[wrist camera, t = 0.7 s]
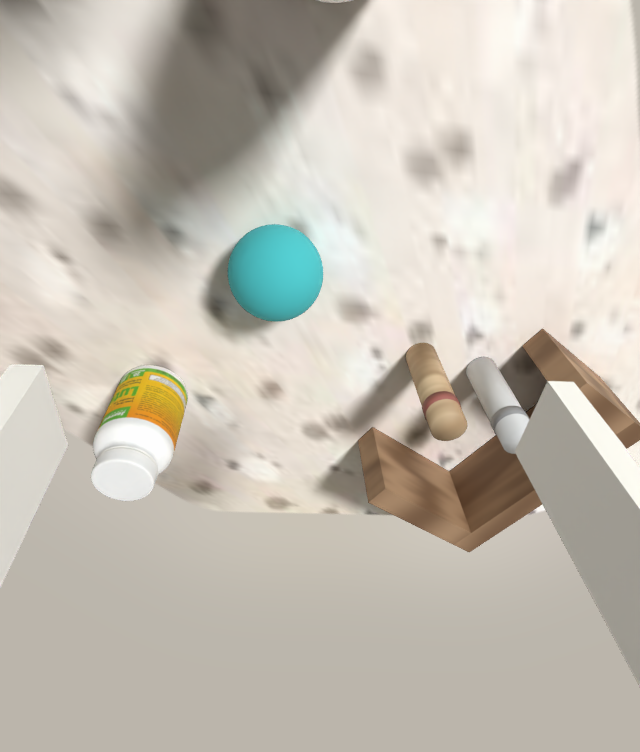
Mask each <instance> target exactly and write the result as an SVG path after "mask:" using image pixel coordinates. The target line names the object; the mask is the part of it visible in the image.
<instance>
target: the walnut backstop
mask: <svg viewBox="0 0 640 752" xmlns="http://www.w3.org/2000/svg"><path fill="white" fill-rule="evenodd" d="M523 348H524V349H525V351H526V352H527V353H528V355H529V356H530V358H531V359H532V360H533V362H534V363H535V365H536V366H537V367H538V369H539V370H540V372H541V373H542V374H543V376H544V377H545V379H546V380H547V381H564V382H574V383H575V384H576V385H577V387H578V388H579V389H580V390H581V392H582V393H583V394H584V395H585V397H586V398H587V399H588V401H589V402H590V403H591V404H592V406H593V407H594V408H595V409H596V411H597V412H598V413H599V415H600V416H601V417H602V418H603V420H604V421H605V422H606V423H607V425H608V426H609V427H610V429H611V430H612V431H613V432H614V434H615V435H616V436H617V437H618V439H619V440H620V441H621V442H622V444H623V445H624V446H625V448H626V449H627V448H629V447H630V446H632V445H633V444H635V443H636V442H638V441H639V440H640V423H639V422H638V420H637V419H636V418H635V417H634V416H633V415H632V414H631V412H630V411H629V410H628V409H627V408H626V407H625V405H624V404H623V403H622V402H621V401H620V400H619V399H618V397H617V396H616V395H615V394H614V393H613V392H612V390H611V389H610V388H609V387H608V386H607V385H606V384H605V382H604V381H603V380H602V379H601V378H600V377H599V376H598V375H597V374H596V373H594V372H593V371H592V370H591V369H590V368H589V367H587V366H586V365H585V364H584V363H583V362H582V361H580V360H579V359H578V358H577V357H576V356H574V355H573V354H572V353H571V352H570V351H569V350H567V349H566V348H565V347H564V346H563V345H561V344H560V343H559V342H558V341H557V340H556V339H554V338H553V337H552V336H551V335H550V334H549V333H547V332H546V331H545V330H544V329H542V330H541V331H539V332H538V333H537V334H536V335H535V336H534V337H532V338H531V339H530V340H529V341H528V342H526V343H525V344H524V345H523ZM536 405H537V404H536ZM536 405H535V406H534V407H532V408H531V409H530V410H528V411H527V412H526V414H527V416H528V417H529V419H530V418H531V415H532V413H533V411H534V409H535V407H536ZM358 443H359V449H360V455H361V461H362V467H363V473H364V479H365V485H366V491H367V497H368V503H370V504H372V505H374V506H376V507H378V508H380V509H382V510H384V511H386V512H388V513H391V514H393V515H395V516H397V517H399V518H401V519H403V520H405V521H407V522H409V523H411V524H413V525H415V526H417V527H419V528H421V529H423V530H425V531H427V532H429V533H431V534H433V535H435V536H437V537H439V538H441V539H443V540H445V541H447V542H449V543H451V544H453V545H455V546H457V547H459V548H461V549H463V550H465V551H467V552H470V551H472V550H474V549H475V548H476V547H478V546H480V545H481V544H483V543H484V542H486V541H487V540H489V539H490V538H492V537H493V536H495V535H496V534H498V533H499V532H501V531H502V530H504V529H505V528H507V527H508V526H510V525H511V524H513V523H515V522H516V521H518V520H519V519H521V518H522V517H524V516H525V515H527V514H528V513H530V512H531V511H533V510H534V509H536V508H537V507H539V506H540V505H542V502H541V500H540V498H539V497H538V495H537V493H536V491H535V489H534V487H533V485H532V483H531V481H530V480H529V478H528V476H527V474H526V472H525V470H524V468H523V466H522V465H521V463H520V461H519V459H518V457H517V455H516V454H511V453H508V452H506V451H505V450H504V448H503V446H502V444H501V442H500V440H499V438H498V436H497V435H496V436H495V437H493V438H492V439H491V440H490V441H488V442H487V443H486V444H484V445H483V446H482V447H481V448H479V449H478V450H477V451H475V452H474V453H473V454H471V455H470V456H469V457H468V458H466V459H465V460H464V461H462V462H461V463H460V464H459V465H457V466H456V467H455V468H453V469H452V470H451V471H447V470H446V469H444V468H442V467H440V466H439V465H437V464H435V463H434V462H432V461H430V460H428V459H427V458H425V457H423V456H422V455H420V454H418V453H416V452H415V451H413V450H411V449H409V448H408V447H406V446H404V445H403V444H401V443H399V442H397V441H396V440H394V439H392V438H390V437H389V436H387V435H385V434H384V433H382V432H380V431H378V430H377V429H375V428H373V427H372V428H371V429H370V430H369V431H368V432H367V433H366V434H365V435H364V436H363V437H361V438H360V439H359V440H358Z"/></svg>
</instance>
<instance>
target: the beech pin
mask: <svg viewBox="0 0 640 752" xmlns="http://www.w3.org/2000/svg"><path fill="white" fill-rule="evenodd" d="M406 361H407V364H408V367H409V370H410V373H411V376H412V379H413V382H414V384H415V387H416V390H417V393H418V396H419V399H420V402H421V405H422V409H423V413H424V416H425V419H426V420H427V422H428V425H429V428H430V431H431V434H432V435H433V437H434V438H436V439H438V440H441V441H449V440H453V439H456V438H458V437H460V436H461V435H462V434H463V433H464V432H465V430H466V428H467V421H466V419H465V416H464V414H463V412H462V410H461V405H460V403H459V401H458V399H457V397H456V396H455V394H454V392H453V389H452V387H451V385H450V383H449V380H448V378H447V376H446V373H445V371H444V369H443V367H442V364H441V362H440V360H439V358H438V355H437V353H436V351H435V349H434V347H433V346H432V345H430V344H428V343H418V344H415V345H413V346H412V347H411V348H410V349H409V350H408V351H407V353H406Z"/></svg>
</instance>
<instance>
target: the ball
mask: <svg viewBox="0 0 640 752" xmlns="http://www.w3.org/2000/svg"><path fill="white" fill-rule="evenodd" d="M228 280H229V285H230V288H231V291H232V293H233V295H234V297H235V299H236V300H237V302H238V303H239V304H240V305H241V306H242V307H243V308H244V309H245V310H246V311H247V312H249V313H250V314H252V315H253V316H255V317H257V318H260V319H263V320H267V321H286V320H290V319H293V318H295V317H297V316H299V315H301V314H302V313H304V312H305V311H306V310H308V308H309V307H310V306H311V305H312V304H313V303H314V301H315V300H316V298H317V296H318V295H319V292H320V289H321V286H322V282H323V266H322V261H321V258H320V255H319V253H318V251H317V249H316V247H315V246H314V245H313V243H312V242H311V241H310V240H309V239H308V238H307V237H306V236H305V235H304V234H303V233H301V232H299V231H298V230H296V229H294V228H291V227H288V226H284V225H275V224H274V225H265V226H261V227H258V228H255V229H253V230H251V231H250V232H248V233H247V234H246V235H245V236H243V237H242V238H241V239H240V240H239V242H238V243H237V244H236V246H235V247H234V249H233V251H232V254H231V256H230V259H229V263H228Z"/></svg>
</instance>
